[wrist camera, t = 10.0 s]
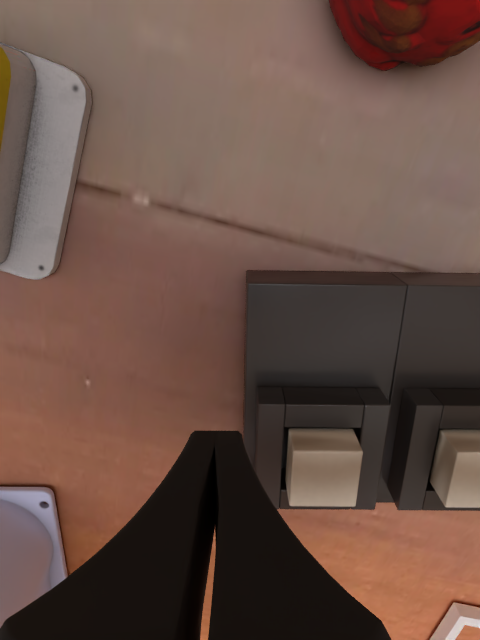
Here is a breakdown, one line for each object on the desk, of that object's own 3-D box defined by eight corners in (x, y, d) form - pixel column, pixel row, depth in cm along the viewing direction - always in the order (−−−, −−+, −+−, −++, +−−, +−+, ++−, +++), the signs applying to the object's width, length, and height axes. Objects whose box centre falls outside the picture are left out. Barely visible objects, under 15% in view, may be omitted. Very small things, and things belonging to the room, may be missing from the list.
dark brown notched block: (480, 473, 25) (523, 527, 21) (361, 472, 25) (383, 527, 21) (531, 273, 21) (595, 297, 17) (389, 272, 21) (423, 295, 17)
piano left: (361, 472, 25) (383, 527, 21) (241, 471, 25) (243, 526, 21) (389, 272, 21) (423, 295, 17) (246, 270, 21) (248, 293, 17)
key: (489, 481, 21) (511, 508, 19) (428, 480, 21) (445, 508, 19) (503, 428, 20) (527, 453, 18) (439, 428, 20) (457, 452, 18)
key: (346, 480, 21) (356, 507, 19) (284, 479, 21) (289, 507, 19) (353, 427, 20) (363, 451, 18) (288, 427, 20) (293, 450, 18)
